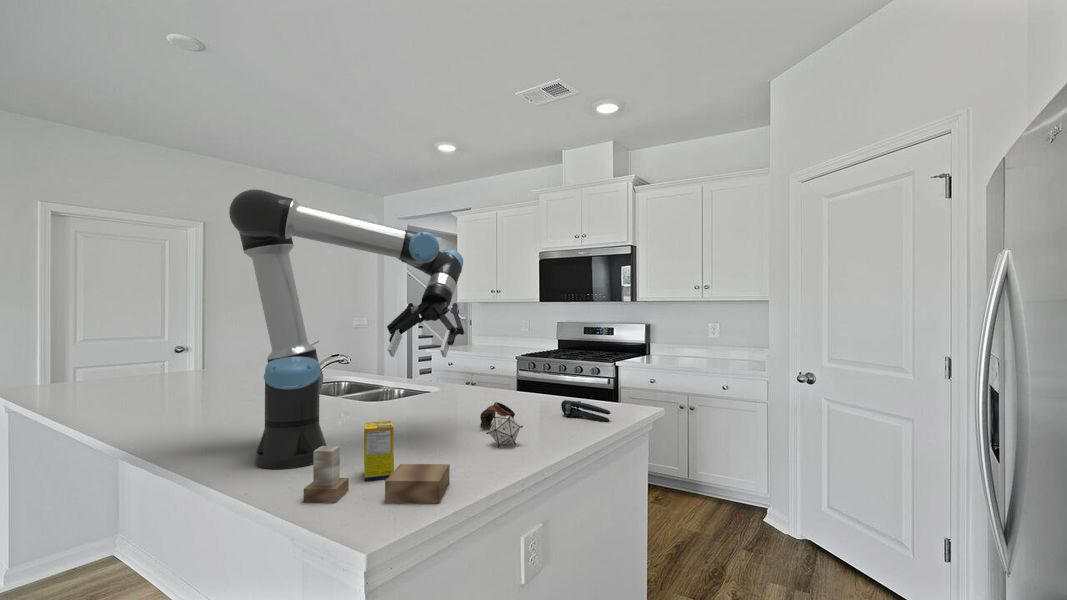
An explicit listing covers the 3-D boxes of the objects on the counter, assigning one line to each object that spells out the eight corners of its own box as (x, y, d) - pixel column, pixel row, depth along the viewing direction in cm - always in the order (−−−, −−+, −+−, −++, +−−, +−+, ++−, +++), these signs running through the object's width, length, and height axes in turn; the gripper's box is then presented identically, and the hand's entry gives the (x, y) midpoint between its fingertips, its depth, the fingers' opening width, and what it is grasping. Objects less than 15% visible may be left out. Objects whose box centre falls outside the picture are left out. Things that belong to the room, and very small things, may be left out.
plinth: (384, 502, 93) (384, 480, 93) (400, 483, 102) (400, 463, 103) (439, 503, 92) (439, 481, 92) (449, 484, 102) (449, 464, 102)
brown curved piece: (488, 423, 158) (501, 400, 158) (509, 441, 153) (523, 417, 153) (466, 421, 148) (481, 396, 148) (488, 439, 143) (503, 414, 143)
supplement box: (392, 469, 111) (392, 420, 112) (394, 478, 106) (394, 426, 106) (363, 472, 109) (364, 422, 110) (364, 481, 104) (364, 428, 104)
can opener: (556, 417, 165) (556, 399, 165) (568, 413, 171) (568, 397, 171) (604, 424, 155) (604, 406, 155) (615, 420, 160) (615, 403, 160)
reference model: (303, 502, 93) (303, 453, 93) (317, 490, 99) (318, 444, 99) (335, 502, 93) (336, 453, 93) (348, 490, 99) (348, 444, 99)
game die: (510, 461, 130) (521, 435, 125) (479, 449, 130) (489, 422, 125) (518, 436, 138) (529, 410, 132) (489, 425, 138) (498, 399, 133)
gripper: (485, 302, 139) (468, 363, 124) (400, 303, 144) (374, 362, 129) (479, 282, 134) (461, 343, 119) (392, 284, 139) (364, 343, 124)
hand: (416, 353), depth 124 cm, fingers open, 13 cm apart
